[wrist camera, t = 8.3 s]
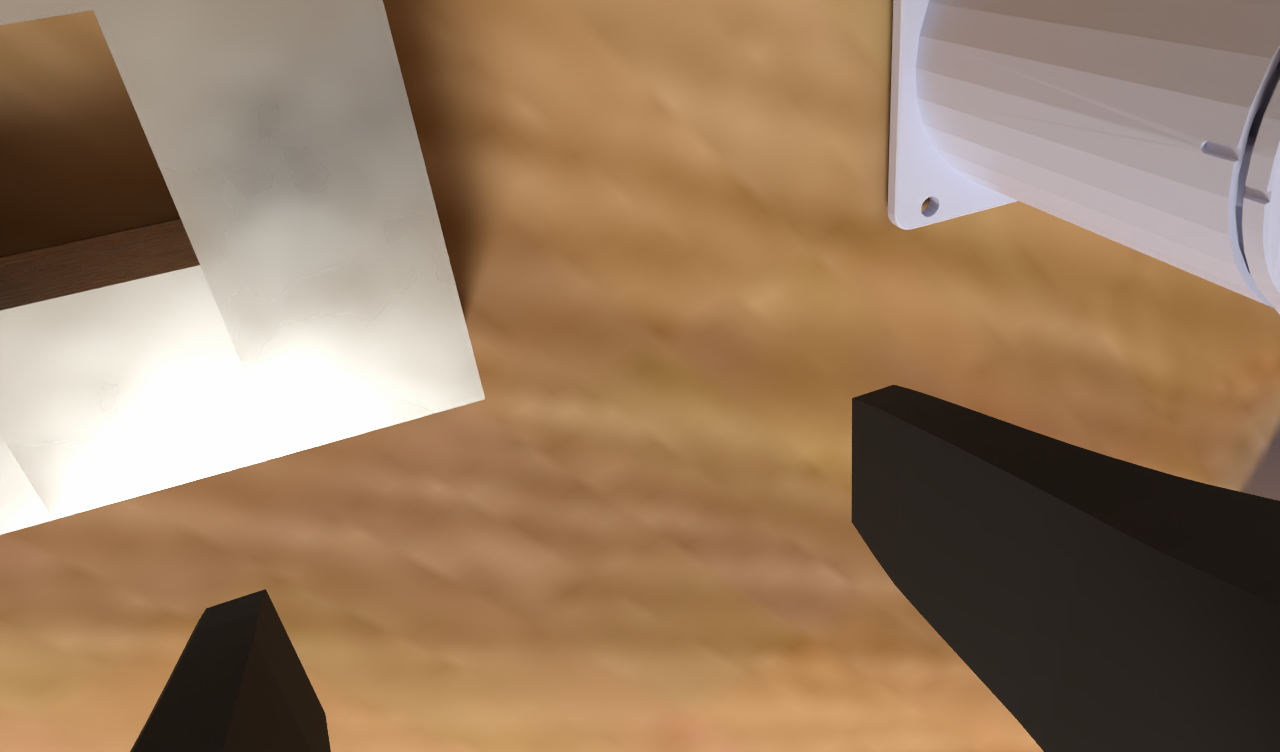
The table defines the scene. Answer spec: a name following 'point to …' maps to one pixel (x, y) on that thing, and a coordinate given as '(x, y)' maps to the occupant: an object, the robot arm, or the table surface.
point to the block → (233, 264)
